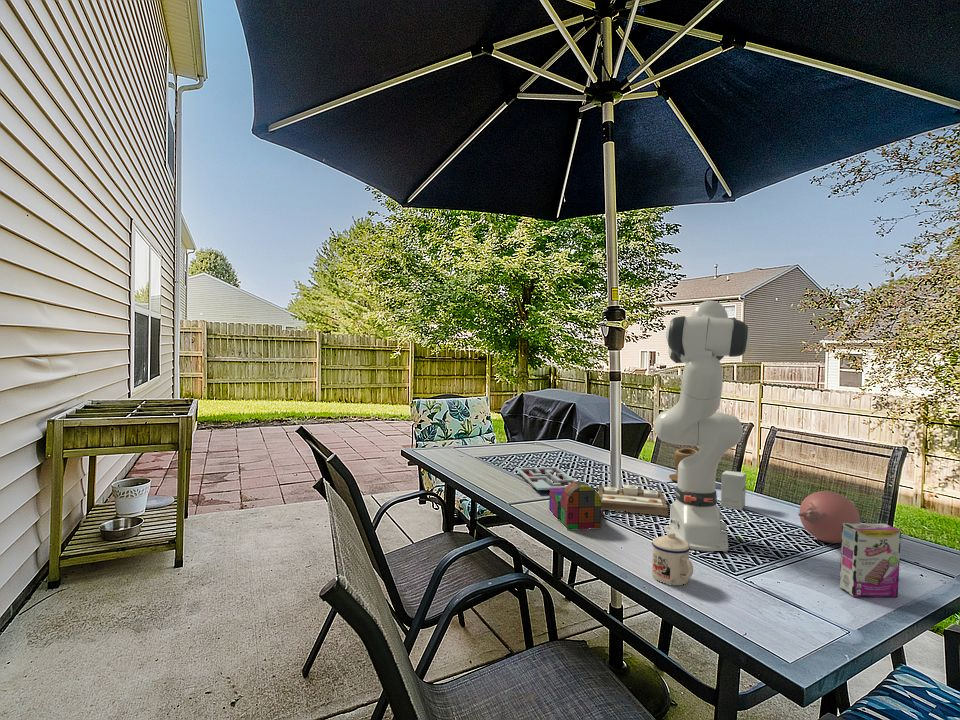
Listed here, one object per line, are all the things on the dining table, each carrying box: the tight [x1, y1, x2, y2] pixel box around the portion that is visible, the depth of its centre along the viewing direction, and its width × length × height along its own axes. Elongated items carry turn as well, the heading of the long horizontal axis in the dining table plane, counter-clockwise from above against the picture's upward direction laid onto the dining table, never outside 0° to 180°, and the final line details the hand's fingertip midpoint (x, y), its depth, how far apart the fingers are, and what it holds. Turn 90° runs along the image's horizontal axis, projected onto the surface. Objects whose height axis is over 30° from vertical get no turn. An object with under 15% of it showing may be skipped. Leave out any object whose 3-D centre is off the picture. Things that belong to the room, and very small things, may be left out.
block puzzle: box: [548, 480, 606, 530], centre depth 175 cm, size 25×17×14 cm
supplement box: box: [720, 470, 747, 511], centre depth 190 cm, size 7×7×13 cm
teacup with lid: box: [651, 532, 694, 586], centre depth 126 cm, size 12×9×12 cm
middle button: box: [623, 484, 639, 496], centre depth 195 cm, size 5×5×3 cm
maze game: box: [516, 466, 577, 492], centre depth 220 cm, size 35×20×3 cm, turn 10°
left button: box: [603, 486, 618, 494], centre depth 197 cm, size 5×5×3 cm
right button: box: [643, 489, 658, 497], centre depth 193 cm, size 5×5×3 cm
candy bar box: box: [839, 522, 902, 598], centre depth 121 cm, size 11×5×16 cm, turn 92°
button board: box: [598, 486, 669, 517], centre depth 190 cm, size 22×24×4 cm
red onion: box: [797, 490, 861, 544], centre depth 154 cm, size 15×20×15 cm
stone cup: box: [668, 447, 699, 483], centre depth 226 cm, size 15×12×15 cm
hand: (705, 408), depth 189 cm, fingers closed
